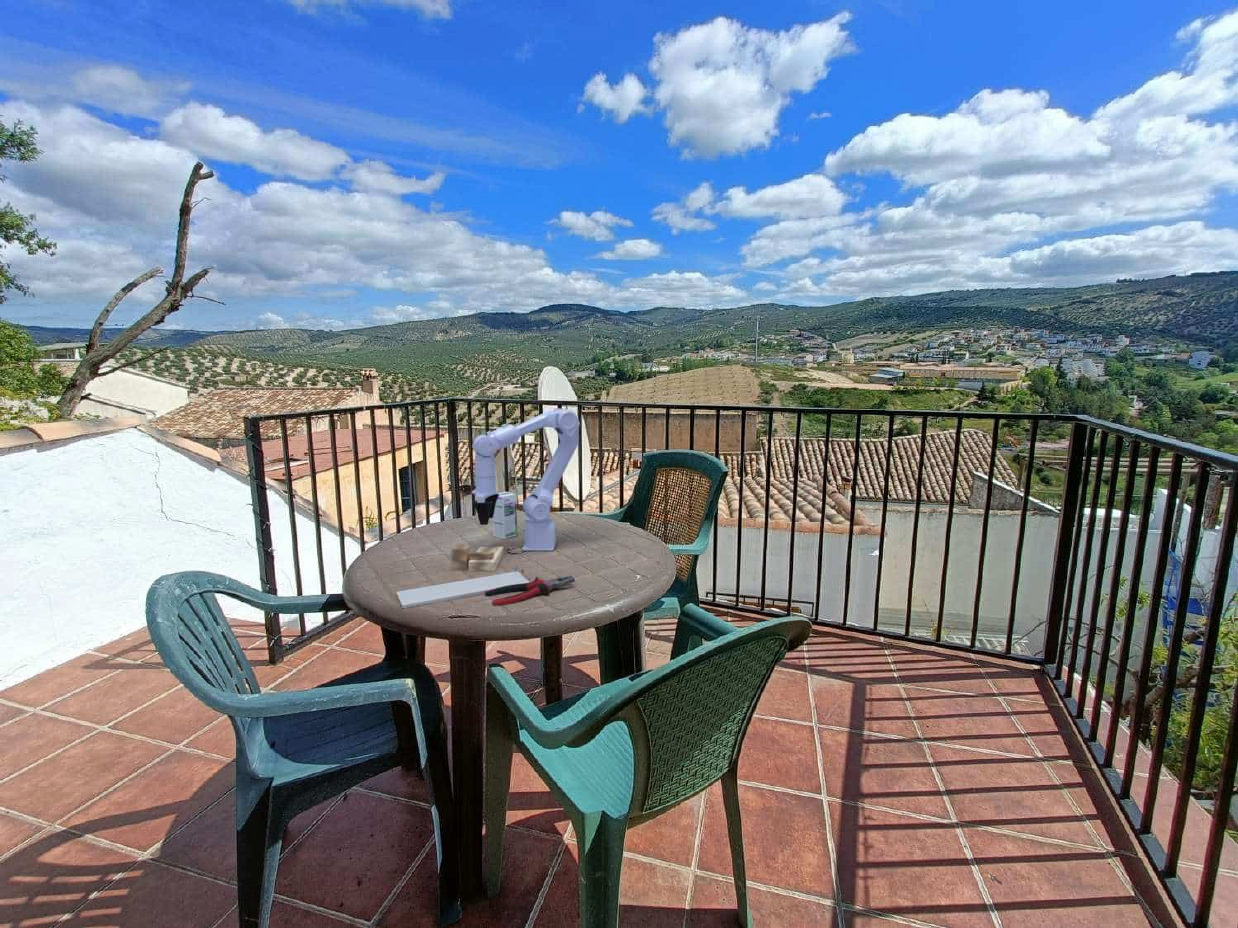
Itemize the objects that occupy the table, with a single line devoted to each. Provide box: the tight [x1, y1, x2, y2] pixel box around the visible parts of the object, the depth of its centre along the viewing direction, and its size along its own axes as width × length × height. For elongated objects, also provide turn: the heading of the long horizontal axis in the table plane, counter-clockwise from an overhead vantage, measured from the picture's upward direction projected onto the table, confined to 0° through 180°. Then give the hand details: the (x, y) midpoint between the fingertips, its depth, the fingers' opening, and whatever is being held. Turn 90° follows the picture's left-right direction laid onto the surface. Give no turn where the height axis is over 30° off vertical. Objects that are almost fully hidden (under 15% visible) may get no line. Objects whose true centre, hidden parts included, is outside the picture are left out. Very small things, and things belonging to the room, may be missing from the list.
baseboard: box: [395, 566, 531, 609], centre depth 144 cm, size 31×3×12 cm
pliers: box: [484, 575, 576, 606], centre depth 142 cm, size 3×9×22 cm
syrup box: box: [492, 491, 518, 540], centre depth 189 cm, size 6×6×14 cm
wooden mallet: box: [450, 544, 494, 572], centre depth 159 cm, size 11×4×6 cm, turn 93°
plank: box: [468, 546, 505, 572], centre depth 163 cm, size 7×14×2 cm, turn 1°
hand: (486, 521), depth 170 cm, fingers open, 7 cm apart
